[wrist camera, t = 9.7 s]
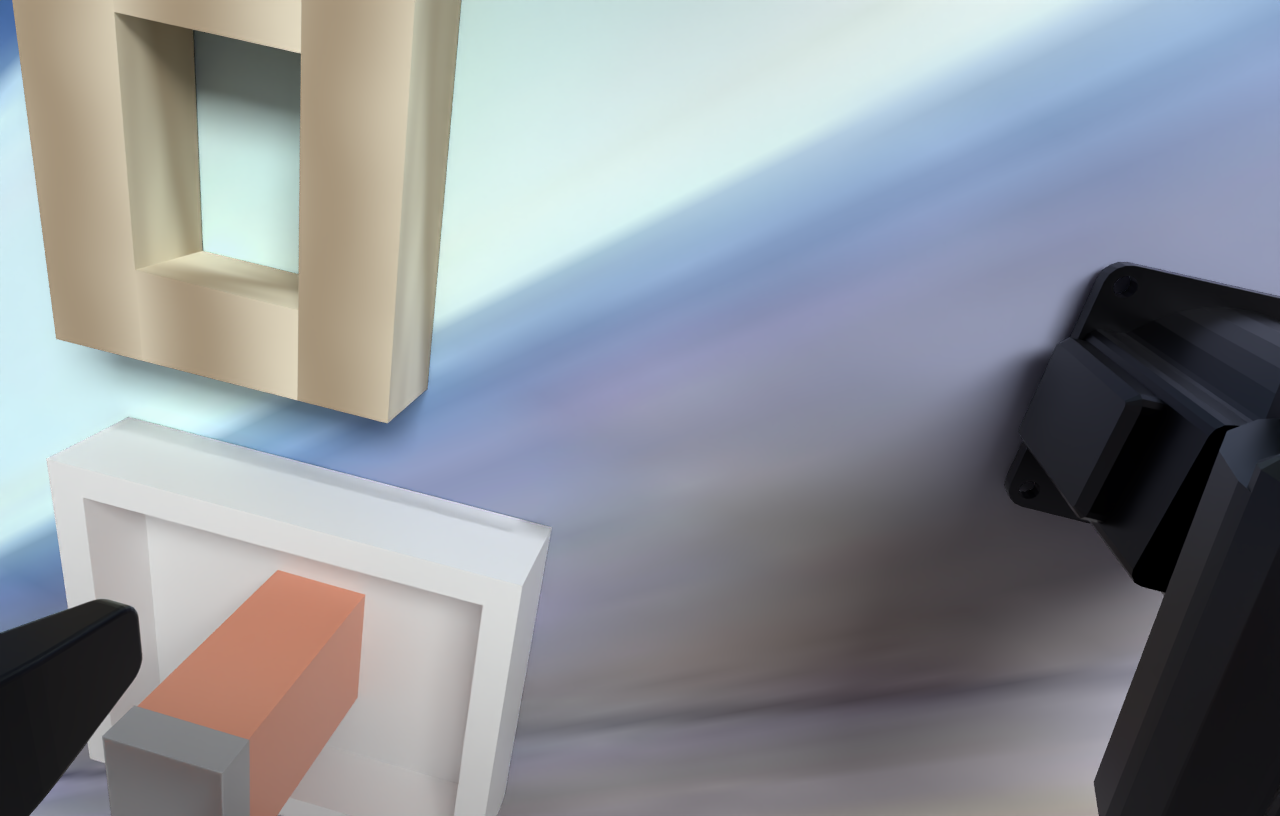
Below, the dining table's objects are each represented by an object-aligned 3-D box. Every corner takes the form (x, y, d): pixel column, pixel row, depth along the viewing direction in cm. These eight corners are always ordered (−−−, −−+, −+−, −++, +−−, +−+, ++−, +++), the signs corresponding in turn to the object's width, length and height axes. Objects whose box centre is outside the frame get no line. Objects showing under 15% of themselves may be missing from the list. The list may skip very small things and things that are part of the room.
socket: (464, -36, 18) (418, -55, 15) (427, 388, 22) (387, 423, 20) (91, -115, 18) (-7, -145, 16) (128, 313, 23) (56, 338, 20)
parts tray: (551, 527, 23) (522, 585, 20) (504, 796, 28) (475, 872, 25) (128, 417, 24) (46, 458, 21) (154, 695, 29) (89, 758, 26)
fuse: (366, 593, 24) (222, 773, 18) (358, 699, 26) (226, 894, 20) (276, 568, 24) (102, 736, 18) (274, 674, 26) (116, 860, 20)
